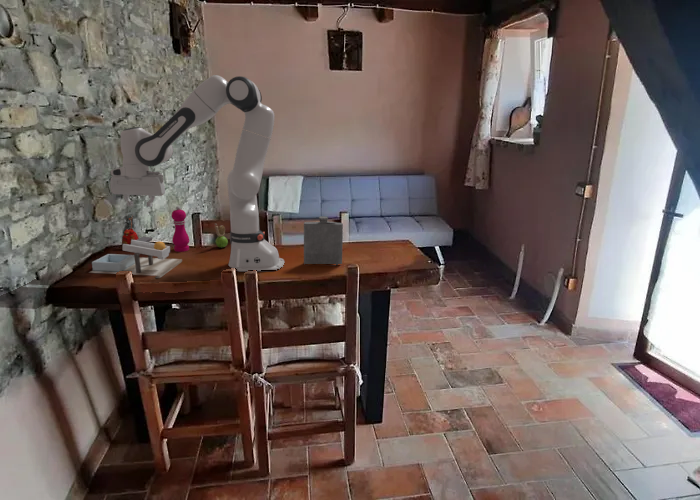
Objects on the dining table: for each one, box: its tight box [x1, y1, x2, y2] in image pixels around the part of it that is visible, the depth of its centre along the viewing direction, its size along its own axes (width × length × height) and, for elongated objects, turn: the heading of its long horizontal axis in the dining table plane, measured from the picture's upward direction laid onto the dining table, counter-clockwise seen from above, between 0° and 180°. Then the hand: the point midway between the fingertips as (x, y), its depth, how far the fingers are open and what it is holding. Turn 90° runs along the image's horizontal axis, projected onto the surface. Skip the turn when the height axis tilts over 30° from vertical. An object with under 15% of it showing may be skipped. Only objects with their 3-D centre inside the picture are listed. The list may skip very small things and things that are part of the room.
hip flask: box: [303, 215, 344, 266], centre depth 184 cm, size 16×4×20 cm, turn 90°
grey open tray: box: [91, 253, 135, 272], centre depth 172 cm, size 11×11×4 cm
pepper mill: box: [171, 205, 190, 253], centre depth 197 cm, size 7×7×20 cm
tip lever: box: [122, 235, 171, 260], centre depth 174 cm, size 16×17×4 cm
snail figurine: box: [214, 223, 229, 249], centre depth 203 cm, size 5×6×12 cm
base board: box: [88, 253, 183, 279], centre depth 174 cm, size 27×20×8 cm
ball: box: [154, 241, 166, 250], centre depth 169 cm, size 4×4×4 cm
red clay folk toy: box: [121, 214, 140, 248], centre depth 197 cm, size 8×7×15 cm
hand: (140, 206), depth 176 cm, fingers open, 6 cm apart
